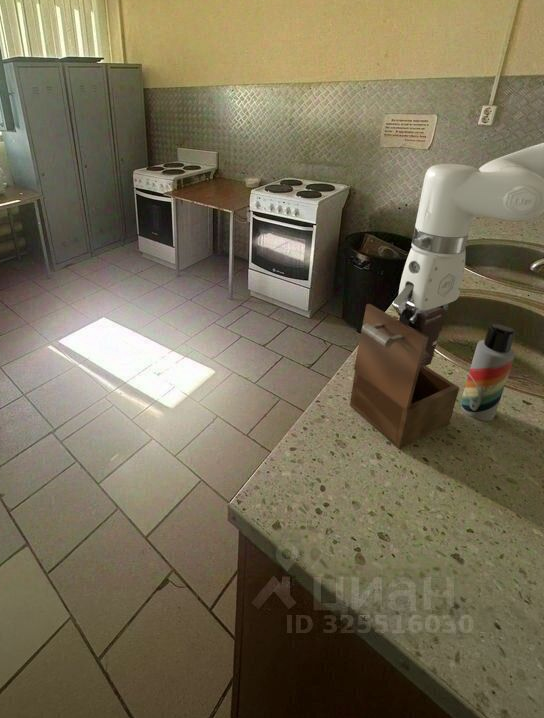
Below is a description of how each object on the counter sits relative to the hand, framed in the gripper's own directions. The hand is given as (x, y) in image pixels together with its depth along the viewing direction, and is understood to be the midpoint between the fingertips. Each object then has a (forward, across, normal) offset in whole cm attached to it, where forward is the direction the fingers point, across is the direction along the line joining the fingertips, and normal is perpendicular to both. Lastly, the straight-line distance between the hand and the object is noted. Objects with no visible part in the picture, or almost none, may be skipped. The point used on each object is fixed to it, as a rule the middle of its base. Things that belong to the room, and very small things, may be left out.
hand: (418, 331), depth 71 cm
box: (+7, 0, 0) cm, 7 cm away
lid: (+3, -6, +1) cm, 7 cm away
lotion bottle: (+20, +15, -6) cm, 26 cm away
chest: (+20, 0, 0) cm, 20 cm away
